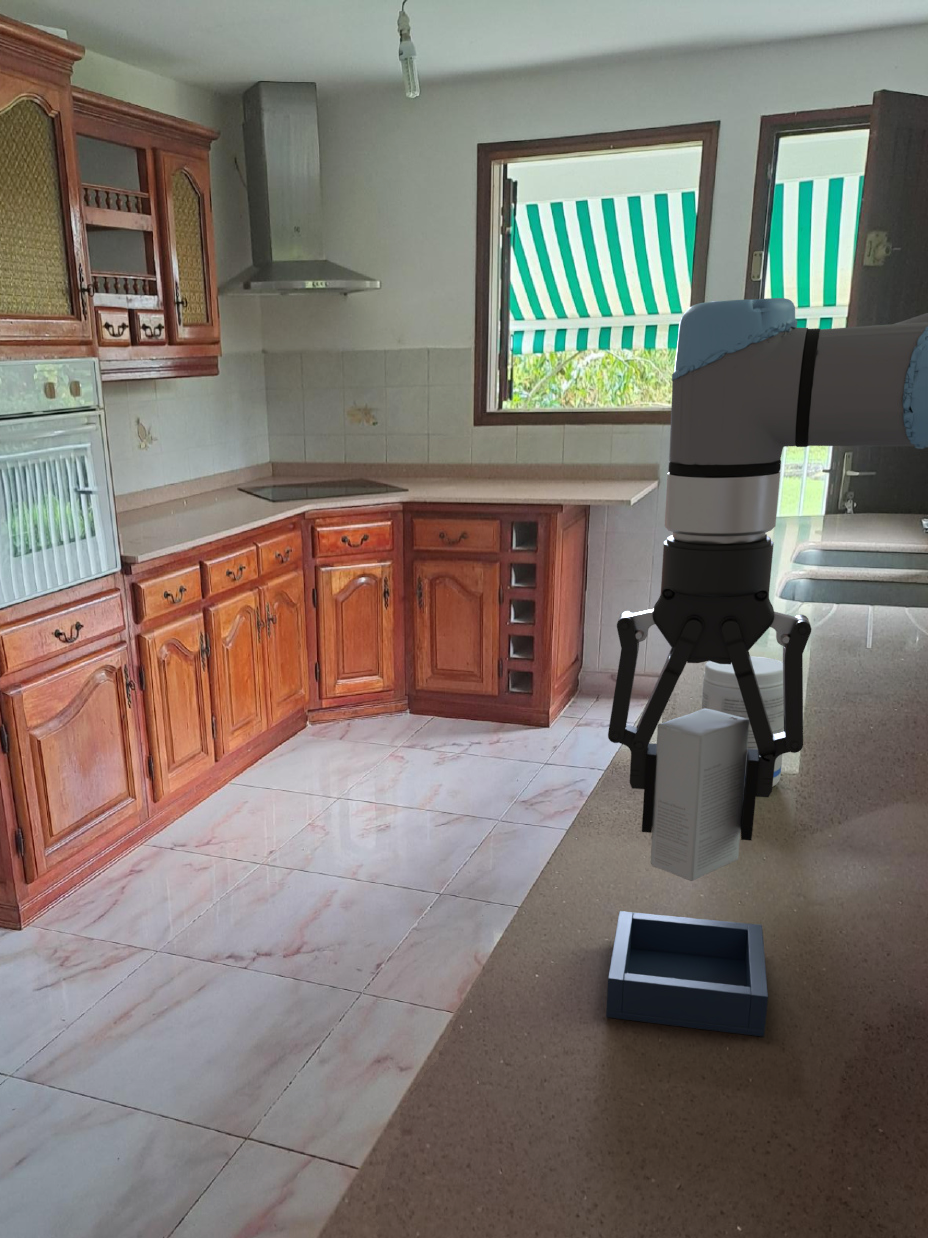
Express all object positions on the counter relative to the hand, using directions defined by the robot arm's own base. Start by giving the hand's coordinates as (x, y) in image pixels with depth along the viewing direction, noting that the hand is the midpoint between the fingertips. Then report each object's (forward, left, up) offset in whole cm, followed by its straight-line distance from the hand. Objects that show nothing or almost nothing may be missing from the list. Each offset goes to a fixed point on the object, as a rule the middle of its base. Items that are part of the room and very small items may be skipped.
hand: (696, 829), depth 88 cm
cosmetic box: (0, 0, -3) cm, 3 cm away
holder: (0, 0, -14) cm, 14 cm away
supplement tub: (-5, -51, -15) cm, 53 cm away
